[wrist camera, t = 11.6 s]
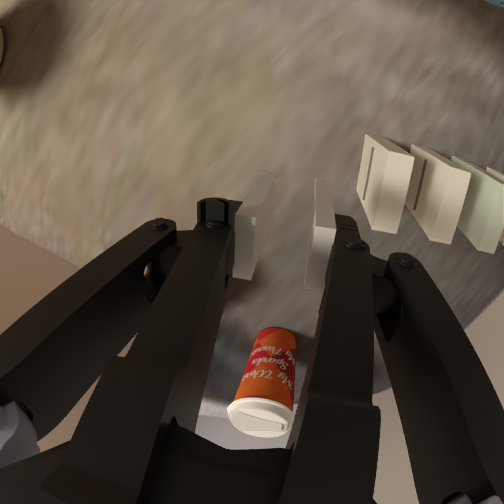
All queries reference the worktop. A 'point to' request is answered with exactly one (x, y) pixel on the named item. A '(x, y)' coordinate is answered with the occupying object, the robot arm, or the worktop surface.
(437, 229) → the domino
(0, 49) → the canister
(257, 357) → the paper cup
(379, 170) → the domino
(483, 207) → the domino
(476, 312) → the worktop surface
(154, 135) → the worktop surface
